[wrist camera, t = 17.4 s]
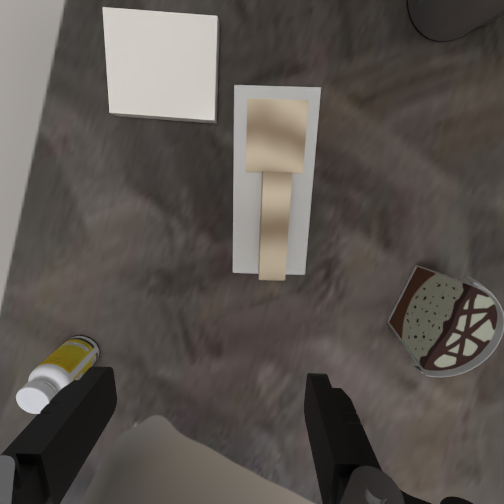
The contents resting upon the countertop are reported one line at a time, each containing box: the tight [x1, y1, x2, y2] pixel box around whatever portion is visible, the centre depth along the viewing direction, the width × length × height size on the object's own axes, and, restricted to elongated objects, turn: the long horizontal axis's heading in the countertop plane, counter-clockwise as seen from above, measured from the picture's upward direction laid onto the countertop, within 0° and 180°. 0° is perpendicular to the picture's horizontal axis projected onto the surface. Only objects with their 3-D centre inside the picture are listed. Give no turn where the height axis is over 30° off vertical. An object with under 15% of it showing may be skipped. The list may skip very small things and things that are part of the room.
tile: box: [103, 7, 220, 124], centre depth 30 cm, size 12×2×10 cm
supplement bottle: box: [16, 336, 99, 414], centre depth 36 cm, size 5×5×10 cm
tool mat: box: [233, 85, 321, 275], centre depth 34 cm, size 10×23×1 cm, turn 178°
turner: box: [246, 98, 309, 281], centre depth 31 cm, size 20×7×6 cm, turn 178°
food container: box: [387, 265, 504, 377], centre depth 33 cm, size 12×6×10 cm, turn 162°
